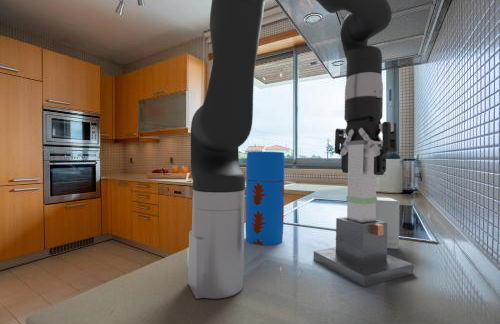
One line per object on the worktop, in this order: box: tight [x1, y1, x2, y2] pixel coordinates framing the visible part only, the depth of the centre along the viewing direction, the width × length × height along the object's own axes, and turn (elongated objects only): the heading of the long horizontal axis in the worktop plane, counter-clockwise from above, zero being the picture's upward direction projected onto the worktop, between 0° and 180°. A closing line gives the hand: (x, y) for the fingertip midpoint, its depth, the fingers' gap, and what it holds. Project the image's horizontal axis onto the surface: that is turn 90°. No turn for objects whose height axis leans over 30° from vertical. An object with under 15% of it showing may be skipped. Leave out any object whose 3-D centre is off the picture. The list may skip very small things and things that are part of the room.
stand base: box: [312, 216, 414, 288], centre depth 56 cm, size 14×14×10 cm
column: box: [345, 140, 377, 224], centre depth 56 cm, size 5×5×19 cm
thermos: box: [245, 151, 286, 246], centre depth 74 cm, size 11×11×25 cm
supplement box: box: [376, 196, 401, 250], centre depth 72 cm, size 7×7×13 cm
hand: (361, 173), depth 56 cm, fingers open, 8 cm apart
